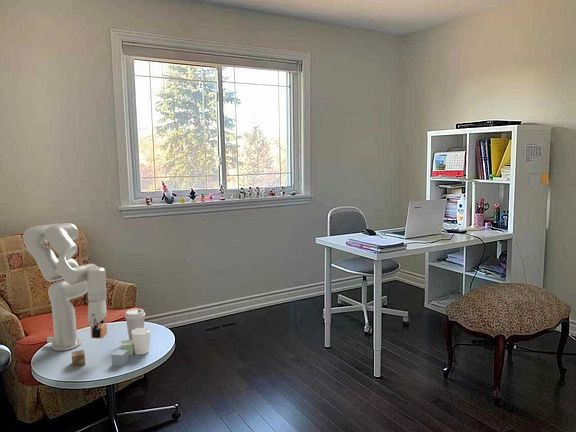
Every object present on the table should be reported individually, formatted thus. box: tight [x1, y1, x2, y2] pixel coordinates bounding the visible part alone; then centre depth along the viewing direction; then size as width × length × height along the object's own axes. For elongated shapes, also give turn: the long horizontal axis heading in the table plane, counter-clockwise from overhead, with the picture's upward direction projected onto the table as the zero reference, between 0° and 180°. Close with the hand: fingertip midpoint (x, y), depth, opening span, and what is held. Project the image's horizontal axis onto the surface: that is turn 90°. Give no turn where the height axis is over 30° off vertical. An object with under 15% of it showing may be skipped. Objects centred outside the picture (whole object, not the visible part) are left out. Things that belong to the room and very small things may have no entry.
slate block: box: [111, 349, 129, 367], centre depth 197 cm, size 5×5×5 cm
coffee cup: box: [124, 308, 146, 340], centre depth 219 cm, size 10×10×15 cm
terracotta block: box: [90, 322, 108, 339], centre depth 200 cm, size 5×5×5 cm
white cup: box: [132, 327, 151, 356], centre depth 207 cm, size 8×8×10 cm
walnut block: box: [71, 349, 86, 368], centre depth 196 cm, size 5×5×5 cm
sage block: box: [120, 340, 135, 356], centre depth 207 cm, size 5×5×5 cm
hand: (99, 334), depth 201 cm, fingers closed on terracotta block, 4 cm apart
